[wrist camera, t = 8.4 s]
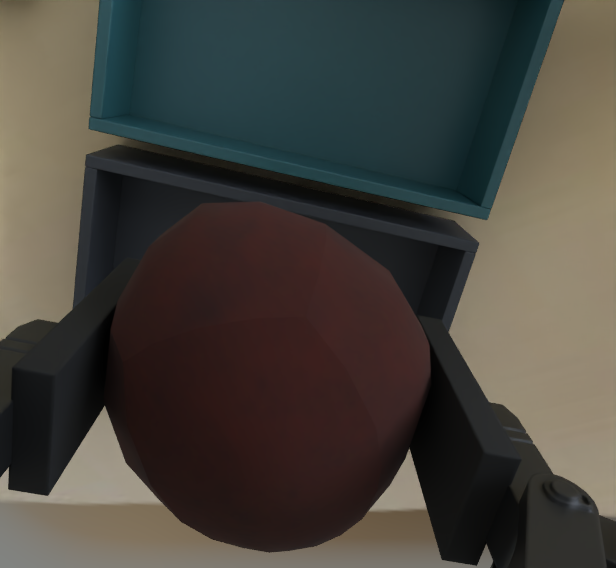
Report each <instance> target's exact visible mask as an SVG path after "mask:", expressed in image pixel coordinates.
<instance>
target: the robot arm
mask: <svg viewBox="0 0 616 568" xmlns="http://www.w3.org/2000/svg"><path fill="white" fill-rule="evenodd" d="M140 261H141V260H138V259H133V258H128V257H127V258H126V259H125V260H124V261H122V262H121V263H120V264H119V265H118V266H117V267H116V268H115V269H114V270H113V271H112V272H111V273H110V274H109V275H108V276H107V277H106V278H105V279H104V280H103V281H102V282H101V283H100V284H99V285H97V286H96V287H95V288H94V289H93V290H92V291H91V292H90V293H89V294H88V295H87V296H86V297H85V298H84V299H83V300H82V301H81V302H80V303H79V304H78V305H77V306H76V307H75V308H73V309H72V310H71V311H70V312H69V313H68V314H67V315H66V316H65V317H64V318H63V319H62V320H61V321H60V322H59V323H55V322H50V321H45V320H39V319H37V320H34V321H32V322H29V323H26V324H24V325H21V326H18V327H17V328H16V329H15V330H14V331H12V332H11V333H10V334H9V335H8V336H6V339H3V340H2V341H0V477H1V476H2V475H3V473H4V472H5V471H6V470H7V468H8V467H9V483H8V489H9V490H15V491H21V492H27V493H34V494H40V495H46V496H48V495H49V493H50V492H51V490H52V489H53V487H54V485H55V484H56V482H57V481H58V479H59V477H60V476H61V474H62V473H63V471H64V469H65V468H66V466H67V465H68V463H69V462H70V460H71V458H72V457H73V455H74V454H75V452H76V450H77V449H78V447H79V446H80V444H81V442H82V441H83V439H84V438H85V436H86V434H87V433H88V431H89V430H90V428H91V426H92V425H93V423H94V422H95V420H96V419H97V417H98V415H99V414H100V412H101V411H102V409H103V407H104V406H105V404H104V401H103V400H104V390H105V380H106V370H107V360H108V350H109V340H110V330H111V326H112V322H113V317H114V313H115V309H116V305H117V301H118V299H119V297H120V296H121V294H122V292H123V291H124V289H125V287H126V285H127V284H128V282H129V280H130V278H131V277H132V275H133V273H134V271H135V270H136V268H137V266H138V265H139V263H140ZM416 317H417V319H418V320H419V322H420V324H421V326H422V328H423V330H424V333H425V335H426V338H427V340H428V343H429V347H430V365H431V384H432V385H431V388H430V390H429V393H428V396H427V399H426V402H425V405H424V408H423V410H422V413H421V416H420V419H419V422H418V425H417V427H416V430H415V433H414V436H413V439H412V441H411V444H410V451H411V454H412V458H413V461H414V465H415V468H416V472H417V475H418V479H419V482H420V486H421V489H422V493H423V496H424V500H425V503H426V507H427V510H428V513H429V517H430V520H431V524H432V527H433V531H434V534H435V538H436V541H437V545H438V548H439V552H440V555H441V558H442V560H446V561H452V562H458V563H464V564H470V565H476V566H477V564H478V562H479V559H480V557H481V555H482V552H483V550H484V548H485V545H486V544H487V546H488V549H489V551H490V554H491V556H492V558H493V563H492V566H491V568H616V521H613V520H610V519H608V518H605V517H603V516H601V515H599V512H598V509H597V506H596V504H595V502H594V501H593V499H592V498H591V497H590V496H589V495H588V494H587V493H586V492H585V491H584V490H583V489H581V488H580V487H579V486H577V485H576V484H574V483H573V482H571V481H569V480H567V479H565V478H563V477H560V476H557V475H554V474H553V473H552V471H551V469H550V468H549V466H548V465H547V463H546V462H545V460H544V459H543V457H542V455H541V454H540V452H539V451H538V449H537V448H536V446H535V445H534V444H533V441H532V440H531V438H530V437H529V435H528V434H527V433H526V430H525V429H524V427H523V426H522V424H521V423H520V421H519V419H518V418H517V417H516V416H515V415H514V414H513V413H511V412H510V411H509V410H508V409H507V408H506V407H504V406H503V405H501V404H496V403H491V402H488V400H487V398H486V397H485V395H484V393H483V391H482V390H481V388H480V386H479V384H478V383H477V381H476V379H475V378H474V376H473V374H472V372H471V371H470V369H469V367H468V366H467V364H466V362H465V360H464V359H463V357H462V355H461V353H460V352H459V350H458V348H457V347H456V345H455V343H454V341H453V340H452V338H451V336H450V334H449V333H448V331H447V329H446V328H445V326H444V324H443V322H442V321H441V319H436V318H431V317H426V316H421V315H417V316H416Z"/></svg>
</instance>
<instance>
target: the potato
mask: <svg viewBox="0 0 616 568" xmlns="http://www.w3.org/2000/svg"><path fill="white" fill-rule="evenodd" d="M431 385H432V384H431V365H430V347H429V343H428V340H427V338H426V335H425V333H424V330H423V328H422V326H421V324H420V322H419V320H418V319H417V317H416V315H415V314H414V312H413V310H412V308H411V307H410V305H409V303H408V302H407V300H406V298H405V297H404V295H403V293H402V292H401V290H400V288H399V287H398V285H397V283H396V282H395V280H394V278H393V276H392V275H391V273H390V271H389V270H387V269H386V268H385V267H383V266H382V265H381V264H379V263H378V262H377V261H375V260H374V259H372V258H371V257H370V256H368V255H367V254H366V253H364V252H363V251H362V250H360V249H359V248H357V247H356V246H355V245H353V244H352V243H351V242H349V241H348V240H347V239H345V238H344V237H342V236H341V235H340V234H338V233H337V232H336V231H334V230H333V229H332V228H330V227H329V226H327V225H326V224H324V223H321V222H318V221H315V220H312V219H310V218H307V217H304V216H301V215H298V214H295V213H292V212H289V211H286V210H284V209H281V208H278V207H275V206H272V205H269V204H266V203H263V202H226V203H202V204H200V205H199V206H198V207H196V208H195V209H194V210H193V211H191V212H190V213H189V214H187V215H186V216H185V217H183V218H182V219H181V220H179V221H178V222H177V223H176V224H174V225H173V226H172V227H170V228H169V229H168V230H166V231H165V232H164V233H163V234H161V235H160V236H159V237H158V238H157V239H156V240H155V241H154V242H153V243H152V244H151V245H150V246H149V247H148V249H147V251H146V252H145V254H144V256H143V258H142V259H141V261H140V263H139V265H138V266H137V268H136V270H135V271H134V273H133V275H132V277H131V278H130V280H129V282H128V284H127V285H126V287H125V289H124V291H123V292H122V294H121V296H120V297H119V299H118V301H117V305H116V309H115V313H114V317H113V322H112V326H111V330H110V340H109V350H108V360H107V370H106V380H105V390H104V400H103V401H104V404H105V407H106V409H107V412H108V415H109V418H110V420H111V423H112V426H113V429H114V431H115V434H116V437H117V440H118V442H119V445H120V448H121V450H122V453H123V456H124V459H125V461H126V463H127V465H128V466H129V467H130V468H131V469H132V470H133V471H134V472H135V473H136V475H137V476H138V477H139V478H140V479H141V480H142V481H143V482H144V483H145V485H146V486H147V487H148V488H149V489H150V490H151V491H152V492H153V493H154V495H155V496H156V497H157V498H158V499H159V500H160V501H161V502H162V503H163V504H164V505H165V506H166V507H167V508H168V509H169V510H170V511H171V512H172V513H173V514H174V515H175V516H176V517H177V518H178V519H179V520H180V521H181V522H182V523H184V524H186V525H188V526H190V527H191V528H193V529H195V530H196V531H198V532H200V533H202V534H203V535H205V536H207V537H209V538H211V539H213V540H216V541H220V542H224V543H227V544H231V545H235V546H238V547H242V548H247V549H253V550H258V551H264V552H280V551H290V550H296V549H302V548H307V547H314V546H317V545H320V544H322V543H324V542H326V541H328V540H331V539H333V538H335V537H337V536H340V535H341V534H343V533H344V532H345V531H347V530H348V529H349V528H351V527H352V526H353V525H355V524H356V523H357V522H358V521H360V520H361V519H362V518H363V517H364V516H365V514H366V513H367V512H368V511H369V509H370V508H371V507H372V506H373V504H374V503H375V502H376V501H377V500H378V499H379V497H380V496H381V495H382V494H383V493H384V491H385V490H386V489H387V488H388V487H389V486H390V484H391V482H392V481H393V479H394V477H395V475H396V474H397V472H398V470H399V468H400V467H401V465H402V463H403V462H404V460H405V458H406V455H407V452H408V450H409V447H410V444H411V441H412V439H413V436H414V433H415V430H416V427H417V425H418V422H419V419H420V416H421V413H422V410H423V408H424V405H425V402H426V399H427V396H428V393H429V390H430V388H431Z"/></svg>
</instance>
